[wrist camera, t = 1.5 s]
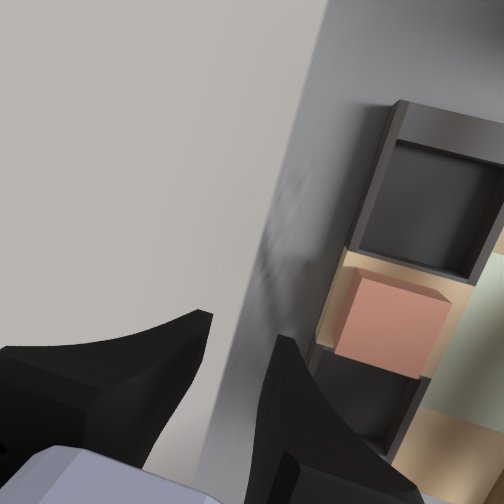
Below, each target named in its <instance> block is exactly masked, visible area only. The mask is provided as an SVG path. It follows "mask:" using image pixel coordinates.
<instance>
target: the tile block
mask: <svg viewBox="0 0 504 504" xmlns="http://www.w3.org/2000/svg"><path fill="white" fill-rule="evenodd" d="M451 306H452V303H451V302H450V301H449V300H448V299H447V298H446V297H445V296H443V295H442V294H441V293H440V292H439V291H438V290H436V289H433V288H429V287H426V286H422V285H419V284H415V283H411V282H408V281H404V280H401V279H397V278H394V277H390V276H387V275H383V274H380V273H376V272H373V271H369V270H366V269H362V268H359V267H356V270H355V273H354V275H353V278H352V281H351V284H350V287H349V289H348V292H347V295H346V298H345V301H344V303H343V306H342V309H341V312H340V315H339V317H338V320H337V323H336V326H335V329H334V331H333V334H332V340H333V347H334V353H335V354H338V355H341V356H344V357H347V358H350V359H354V360H357V361H360V362H363V363H366V364H370V365H373V366H376V367H379V368H383V369H386V370H389V371H392V372H395V373H399V374H402V375H405V376H408V377H411V378H415V379H418V378H419V376H420V374H421V372H422V370H423V367H424V365H425V363H426V361H427V359H428V356H429V354H430V352H431V350H432V348H433V346H434V343H435V341H436V339H437V337H438V335H439V332H440V330H441V328H442V326H443V324H444V322H445V319H446V317H447V315H448V313H449V311H450V308H451Z"/></svg>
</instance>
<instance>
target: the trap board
mask: <svg viewBox="0 0 504 504" xmlns="http://www.w3.org/2000/svg"><path fill="white" fill-rule="evenodd" d="M356 267H359V268H362V269H366V270H369V271H373V272H376V273H380V274H383V275H387V276H390V277H394V278H397V279H401V280H404V281H408V282H411V283H415V284H419V285H422V286H426V287H429V288H433V289H436V290H438V291H439V292H440V293H441V294H442V295H443V296H445V297H446V298H447V299H448V300H449V301H450V302H451V303H452V306H451V308H450V311H449V313H448V315H447V317H446V319H445V322H444V324H443V326H442V328H441V330H440V332H439V335H438V337H437V339H436V341H435V343H434V346H433V348H432V350H431V352H430V354H429V356H428V359H427V361H426V363H425V365H424V367H423V370H422V372H421V374H420V376H419V378H418V379H415V378H411V377H408V376H405V375H402V374H399V373H395V372H392V371H389V370H386V369H383V368H379V367H376V366H373V365H370V364H366V363H363V362H360V361H357V360H354V359H350V358H347V357H344V356H341V355H338V354H335V353H334V347H333V340H332V334H333V331H334V329H335V326H336V323H337V320H338V317H339V315H340V312H341V309H342V306H343V303H344V301H345V298H346V295H347V292H348V289H349V287H350V284H351V281H352V278H353V275H354V273H355V270H356ZM305 364H306V366H307V368H308V370H309V371H310V373H311V375H312V377H313V379H314V381H315V382H316V384H317V386H318V387H319V389H320V390H321V392H322V393H323V395H324V396H325V398H326V399H327V400H328V402H329V403H330V404H331V406H332V407H333V408H334V410H335V411H336V412H337V413H338V414H339V416H340V417H341V418H342V419H343V420H344V421H345V422H346V424H347V425H348V426H349V427H350V428H351V429H352V430H353V431H354V432H355V433H356V434H357V435H358V436H359V437H360V438H361V439H362V440H363V441H364V442H365V443H366V444H367V445H368V446H369V447H370V448H371V449H372V450H374V451H375V452H376V453H377V454H378V455H379V456H380V457H381V458H382V459H384V460H385V461H386V462H387V463H389V464H390V465H391V466H392V467H394V468H395V469H396V470H397V471H399V472H400V473H401V474H403V475H404V476H405V477H406V478H408V479H409V480H410V481H412V482H413V483H414V484H415V485H417V487H418V489H419V492H421V493H424V494H427V495H429V496H432V497H435V498H438V499H441V500H444V501H447V502H450V503H453V504H504V124H502V123H498V122H494V121H490V120H485V119H481V118H477V117H472V116H468V115H464V114H460V113H455V112H451V111H447V110H443V109H438V108H434V107H430V106H425V105H421V104H417V103H413V102H408V101H404V100H399V101H397V102H396V103H395V104H394V105H392V108H391V111H390V114H389V117H388V120H387V123H386V126H385V129H384V132H383V134H382V137H381V140H380V143H379V146H378V149H377V152H376V155H375V158H374V161H373V164H372V167H371V170H370V173H369V176H368V179H367V181H366V184H365V187H364V190H363V193H362V196H361V199H360V202H359V205H358V208H357V211H356V214H355V217H354V220H353V223H352V226H351V228H350V231H349V234H348V237H347V240H346V243H345V246H344V249H343V252H342V255H341V258H340V261H339V264H338V267H337V270H336V273H335V275H334V278H333V281H332V284H331V287H330V290H329V293H328V296H327V299H326V302H325V305H324V308H323V311H322V314H321V317H320V319H319V322H318V325H317V328H316V331H315V334H314V337H313V340H312V343H311V346H310V349H309V352H308V355H307V358H306V361H305Z"/></svg>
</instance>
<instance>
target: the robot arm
mask: <svg viewBox="0 0 504 504" xmlns="http://www.w3.org/2000/svg"><path fill="white" fill-rule="evenodd" d="M212 318H213V314H212V313H209V312H206V311H202V310H199V309H197V310H195V311H192V312H190V313H188V314H186V315H183V316H181V317H179V318H177V319H174V320H172V321H170V322H167V323H165V324H162V325H159V326H157V327H154V328H151V329H149V330H145V331H143V332H139V333H136V334H133V335H129V336H124V337H120V338H116V339H111V340H105V341H99V342H92V343H85V344H75V345H62V346H5V347H3V348H1V349H0V504H224V503H222V502H220V501H219V500H217V499H215V498H214V497H212V496H211V495H209V494H207V493H204V492H202V491H199V490H196V489H193V488H191V487H188V486H185V485H182V484H180V483H177V482H174V481H171V480H169V479H166V478H163V477H160V476H158V475H155V474H152V473H149V472H147V471H144V470H142V468H143V466H144V463H145V462H146V460H147V458H148V456H149V453H150V452H151V450H152V447H153V445H154V444H155V442H156V440H157V439H158V437H159V435H160V433H161V432H162V430H163V428H164V427H165V425H166V424H167V422H168V421H169V419H170V417H171V416H172V414H173V413H174V411H175V409H176V408H177V406H178V405H179V403H180V402H181V400H182V398H183V397H184V395H185V394H186V392H187V390H188V389H189V387H190V386H191V384H192V382H193V380H194V378H195V376H196V373H197V371H198V369H199V367H200V365H201V363H202V360H203V356H204V352H205V347H206V343H207V338H208V335H209V331H210V326H211V322H212ZM244 504H425V503H424V501H423V499H422V496H421V494H420V492H419V489H418V487H417V485H415V484H414V483H413V482H412V481H410V480H409V479H408V478H406V477H405V476H404V475H403V474H401V473H400V472H399V471H397V470H396V469H395V468H394V467H392V466H391V465H390V464H389V463H387V462H386V461H385V460H384V459H382V458H381V457H380V456H379V455H378V454H377V453H376V452H375V451H374V450H372V449H371V448H370V447H369V446H368V445H367V444H366V443H365V442H364V441H363V440H362V439H361V438H360V437H359V436H358V435H357V434H356V433H355V432H354V431H353V430H352V429H351V428H350V427H349V426H348V425H347V424H346V422H345V421H344V420H343V419H342V418H341V417H340V416H339V414H338V413H337V412H336V411H335V410H334V408H333V407H332V406H331V404H330V403H329V402H328V400H327V399H326V398H325V396H324V395H323V393H322V392H321V390H320V389H319V387H318V386H317V384H316V382H315V381H314V379H313V377H312V375H311V373H310V371H309V370H308V368H307V366H306V364H305V362H304V359H303V357H302V355H301V353H300V350H299V348H298V345H297V343H296V341H295V339H292V338H289V337H286V336H283V335H280V334H278V336H277V339H276V343H275V346H274V349H273V353H272V356H271V359H270V362H269V366H268V369H267V372H266V375H265V379H264V382H263V386H262V391H261V395H260V399H259V404H258V410H257V419H256V427H255V436H254V445H253V454H252V463H251V470H250V476H249V482H248V486H247V491H246V496H245V501H244Z"/></svg>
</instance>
